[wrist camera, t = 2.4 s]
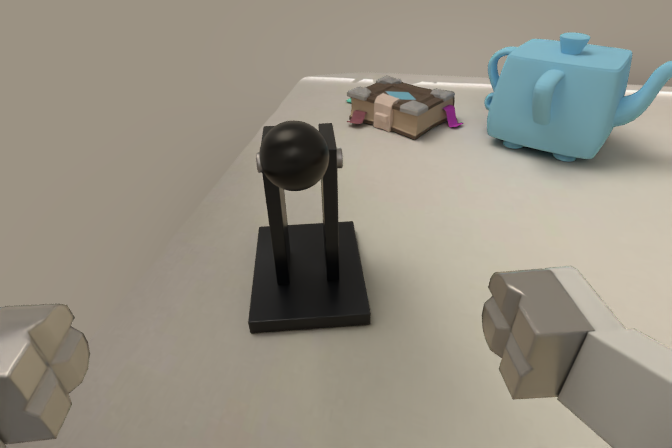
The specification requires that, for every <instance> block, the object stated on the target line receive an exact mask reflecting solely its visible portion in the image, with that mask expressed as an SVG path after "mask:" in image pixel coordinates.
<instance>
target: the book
mask: <svg viewBox="0 0 672 448" xmlns="http://www.w3.org/2000/svg"><path fill="white" fill-rule="evenodd" d="M454 95H455V93H454V92H453V91H447V90H441V89H437V88H436V89H433V90H431V89H426V88H421V87H417V86H413V85H410V84H406V83H403V82H402V81H401V80H400V79H397V78H393V77H390V76H384V77H382V78H380V79H378V80H376V83H375V84H373V85H371V86H368V87H357V88H354V89H352V90H349V91H348V92H347V96H349V97H351V98H350V99H348V100H346V101H347V102H351V103H352V110H351V115H350V121H347V122H350V123H355V124H362V122H363V123H368V124H373V125H374V127H376V128H381V129H384V130H386V131H388V132H390V131H395V132H397V133H400V134H402V135H404V136H407V137H409V138H412V139H414V140H415V139H417V138H418V137H420V136H421V135H423V134H424V133H425V132H427V131H428V130H430V129H431V128H433V127H435V126H437V125H439V124H441V123H443V122H445V121H447V120H448V124H449V127H457V126H459V125H461V124H463V123H457V119H456V115H455V108H454Z"/></svg>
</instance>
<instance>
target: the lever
mask: <svg viewBox="0 0 672 448" xmlns="http://www.w3.org/2000/svg"><path fill="white" fill-rule="evenodd" d="M259 158H260V164H261V167H262V170H263V172H264V174H265V175H266V177H267V178H268V179H269V180H270V181H271V182H272V183H273V184H275V185H276V186H278V187H280V188H282V189H285V190H289V191H301V190H305V189H308V188H310V187H312V186H313V185H315V184H316V183H317V182H318V181H319V180H320V179H321V178H322V177H323V175H324V174H325V172H326V170H327V167H328V163H329V150H328V146H327V143H326V141H325V139H324V137H323V136H322V134H321V133H320V132H319V131H318V130H317V129H316V128H315V127H313V126H311V125H310V124H307V123H305V122H301V121H286V122H283V123H280V124H278V125H276V126H275V127H273V128H272V129H271V130H270V131H269V132H268V133H267V134H266V136H265V137H264V139H263V141H262V143H261V147H260V152H259Z"/></svg>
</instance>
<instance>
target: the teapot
mask: <svg viewBox="0 0 672 448" xmlns="http://www.w3.org/2000/svg"><path fill="white" fill-rule="evenodd" d="M589 39H590V36H588V35H586V34H582V33H564V34H561V35H560V41H554V40H543V39H531V40H529V41H528V42H526V43H524V44H523V45H521V46H520V47H518V48H517V47H506V48H503V49H501V50H499V51H497V52H496V53H495V54H494V55H493V56H492V57H491V59H490V61H489V64H488V74H489V79H490V82H491V85H492V88H493V91H494V93H490V94H489V95H488V96H487V97H486V99H485V107H486V109H487V110H489V113H488V117H487V132H488V135H490V136H492V137H495V138H498V139H501V140H504V142H503V145H505V146H506V147H509V148H514V149H518V148H522V147H523V146H526V147H530V148H534V149H538V150H542V151H547V152H552V153H553V156H554V157H555V158H556V159H558V160H561V161H568V162H570V161H574V160H576V158H583V159H592V158H594V156H595V155H596V154H597V153H598V151H599V150H600V148H601V147H602V145H603V144H604V142H605V141H606V139H607V138H608V136H609V135H610V133H611V131H612V129H613V127H616V126H620V125H625V124H627V123H629V122H631V121H633V120H635V119H636V118H637V117H639V116H640V115H641V114H642V113H643V112H644V111H645V110H646V109H647V108H648V106H649V105H650V104H651V103H652V101H653V100H654V98H655V97H656V95H657V94H658V93H659V91H660V90H661V88H662V87H663V86H664V85H665V83H666V82H667V81H668V80H669V79H670V78H671V77H672V61H669V62H666V63H665V64H663V65H661V66H660V67H658V69H656V70H655V71H654V72H653V73H652V75H651V76H650V77H649V79H648V80H647V82H646V83H645V84H644V85H643V87H642V88H641V89H640V90H639V91H637V92H636V93H634V94H632V95H629V96H625V97H624V95H625V91H626V87H627V82H628V77H629V71H630V66H631V60H632V52H631V51H630V50H626V49H619V48H612V47H605V46H597V45H590V44H587V43H588V41H589ZM505 55H508V57H507V59H506V61H505V64H504V66H503V69H502V71H501V74H500V77H499V75H498V70H497V63H498V60H499V59H500V58H501V57H502V56H505Z"/></svg>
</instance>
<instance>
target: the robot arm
mask: <svg viewBox="0 0 672 448" xmlns="http://www.w3.org/2000/svg"><path fill="white" fill-rule="evenodd" d="M488 288H489V290H490V292H491V294H492V297H491V298H490V299H489V300H487V301H486V302H485V303H484V307H483V312H482V326H483V332H484V336H485V339H486V342H487V344H488V346H489V348H490V350H491V351H492V352H494V353H495V354H497V355H498V356H499V357H501V358H502V360H501V363H500V366H499V371H500V373H501V375H502V377H503V379H504V381H505V384H506V386H507V388H508V390H509V392H510V394H511V397H512V399H529V398H546V397H558V398H557V399H558V400H559V401H560V402H561V403H562V404H563V405H564V406H566V407H567V408H568V409H569V410H570V411H571V412H572V413H574V414H575V415H576V416H577V417H578V418H579V419H580V420H582V421H583V422H584V423H585V424H586V425H587V426H588V427H589V428H591V429H592V430H593V431H594V432H595V433H596V434H597V435H599V436H600V437H601V438H602V439H603V440H604V441H605V442H607V443H608V444H609V445H610V446H611V447H612V448H672V349H671V348H669V347H667V346H666V345H664V344H662V343H660V342H658V341H656V340H655V339H653V338H651V337H649V336H647V335H645V334H644V333H642V332H640V331H638V330H636V329H626V328H625V327H624V326H623V324H622V323H621V322H620V321H619V320H618V318H617V317H616V316H615V315H614V313H613V312H612V311H611V310H610V309H609V307H608V306H607V305H606V304H605V302H604V301H603V300H602V299H601V298H600V296H599V295H598V294H597V293H596V291H595V290H594V289H593V288H592V286H591V285H590V284H589V283H588V282H587V280H586V279H585V278H584V277H583V275H582V274H581V273H580V272H579V271H578V270H577V269H576V268H574V267H572V266H564V267H553V268H545V269H531V270H518V271H506V272H495V273H494V274H493V275H492V277H491V278H490V282H489V286H488ZM73 320H74V316H73V314H72V312H71V311H70V309H69V308H68V306H67V305H63V304H42V305H23V306H22V305H21V306H5V307H0V448H6V445H5V444H14V443H23V442H32V441H40V440H49V439H56V438H57V436H58V433H59V431H60V429H61V427H62V425H63V423H64V421H65V418H66V416H67V414H68V412H69V410H70V408H71V406H72V402H71V399H70V396H69V393H70V392H71V391H73V390H74V389H75V388H76V387H77V386H79V385H80V384H81V383H82V382H83V379H84V377H85V375H86V372H87V370H88V365H89V357H90V351H89V345H88V341H87V340H86V338H85V336H84V334H83V333H82V332H80V331H78V330H77V329H75V328H73V327H71V324H72V322H73Z"/></svg>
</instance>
